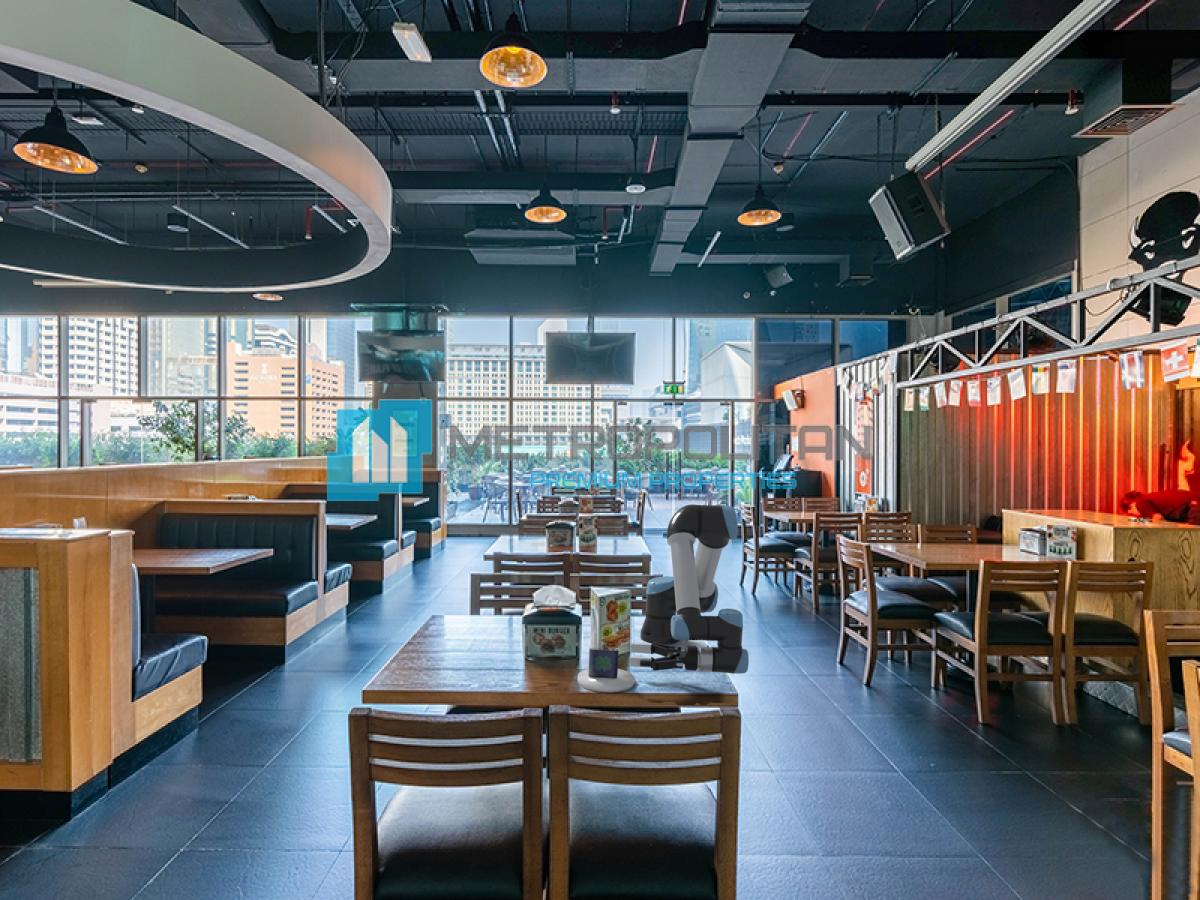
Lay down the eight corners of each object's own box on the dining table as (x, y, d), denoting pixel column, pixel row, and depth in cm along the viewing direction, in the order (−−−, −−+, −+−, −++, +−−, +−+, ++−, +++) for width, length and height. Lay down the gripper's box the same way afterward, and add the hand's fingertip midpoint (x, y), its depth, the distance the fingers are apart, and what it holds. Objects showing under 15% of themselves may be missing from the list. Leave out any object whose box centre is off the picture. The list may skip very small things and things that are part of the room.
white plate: (580, 670, 228) (580, 665, 228) (634, 673, 227) (635, 669, 227) (574, 690, 210) (574, 685, 210) (633, 694, 209) (634, 689, 209)
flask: (587, 677, 217) (589, 643, 217) (588, 674, 220) (590, 640, 220) (617, 679, 217) (618, 645, 217) (617, 675, 220) (619, 642, 220)
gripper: (695, 635, 229) (631, 631, 230) (701, 659, 204) (629, 655, 206) (694, 657, 229) (630, 653, 231) (699, 684, 204) (628, 680, 206)
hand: (629, 654), depth 218 cm, fingers open, 13 cm apart
